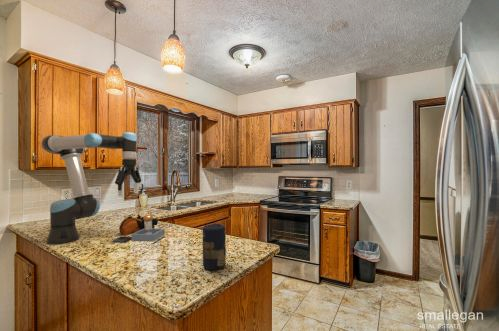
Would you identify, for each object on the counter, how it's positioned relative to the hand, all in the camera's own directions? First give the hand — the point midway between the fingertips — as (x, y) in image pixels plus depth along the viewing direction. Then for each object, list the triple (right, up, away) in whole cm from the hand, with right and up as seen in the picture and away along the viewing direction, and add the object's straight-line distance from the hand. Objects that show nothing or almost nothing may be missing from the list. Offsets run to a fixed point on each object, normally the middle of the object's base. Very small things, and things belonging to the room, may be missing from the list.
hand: (128, 194), depth 147 cm
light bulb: (+14, -24, -5) cm, 28 cm away
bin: (+14, -26, -5) cm, 29 cm away
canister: (+57, -25, -44) cm, 76 cm away
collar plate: (+1, -26, -9) cm, 27 cm away
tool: (+2, -26, +11) cm, 28 cm away
